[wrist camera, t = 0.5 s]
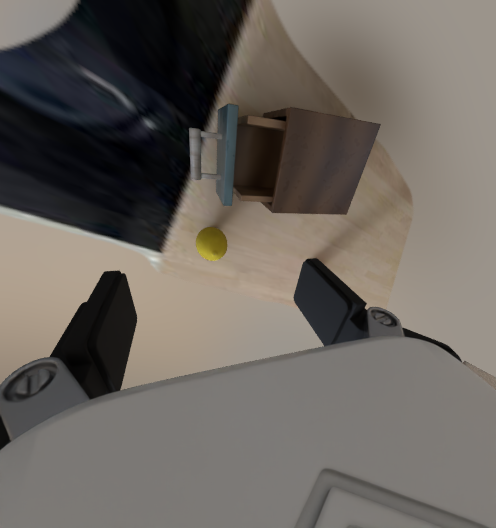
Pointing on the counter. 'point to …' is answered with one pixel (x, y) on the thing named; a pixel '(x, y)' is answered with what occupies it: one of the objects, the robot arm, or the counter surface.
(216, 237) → the lemon
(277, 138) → the drawer
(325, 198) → the cabinet
